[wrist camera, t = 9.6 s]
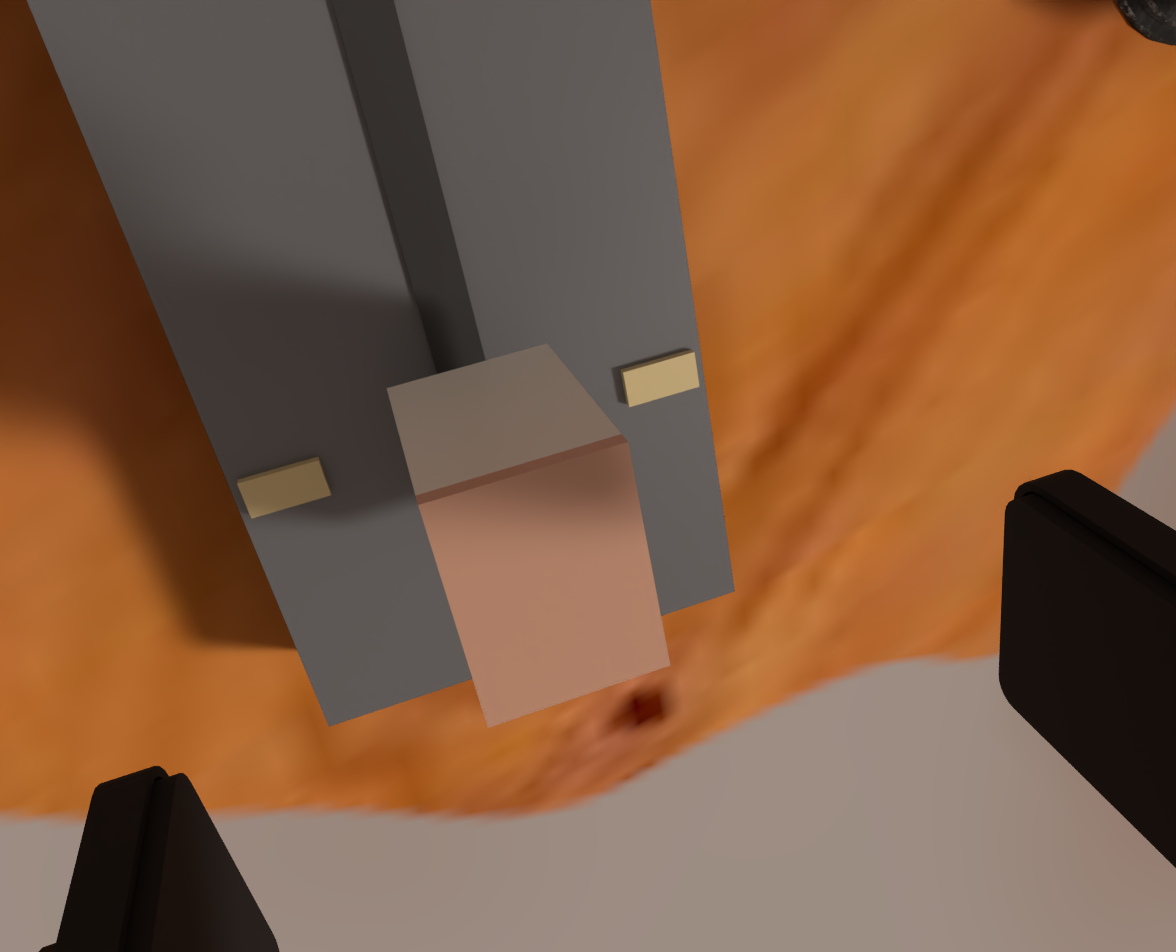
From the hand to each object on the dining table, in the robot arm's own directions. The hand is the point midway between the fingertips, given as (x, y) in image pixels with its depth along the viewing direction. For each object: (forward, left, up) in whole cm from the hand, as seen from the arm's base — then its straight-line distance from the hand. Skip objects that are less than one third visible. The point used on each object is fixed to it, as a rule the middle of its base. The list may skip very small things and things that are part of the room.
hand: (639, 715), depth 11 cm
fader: (+1, 0, -10) cm, 10 cm away
